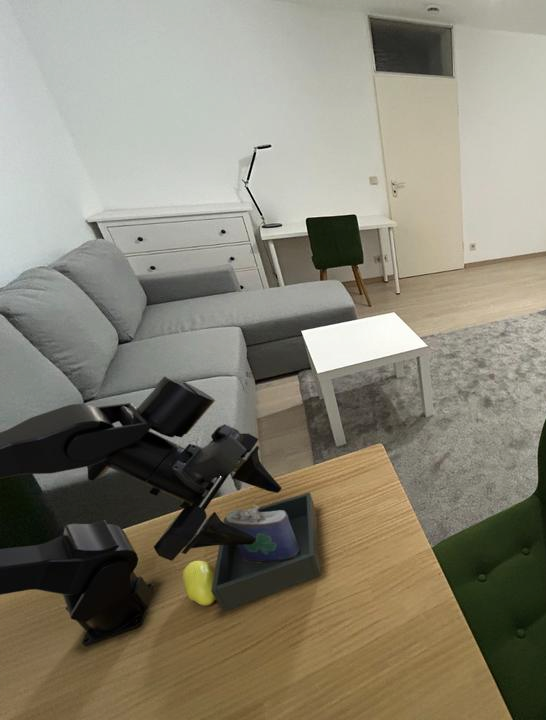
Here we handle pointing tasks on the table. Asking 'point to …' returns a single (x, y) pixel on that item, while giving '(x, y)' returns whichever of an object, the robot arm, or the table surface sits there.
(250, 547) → the flask
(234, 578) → the tray
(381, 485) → the table surface
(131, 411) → the robot arm
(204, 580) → the yellow rounded oblong piece
